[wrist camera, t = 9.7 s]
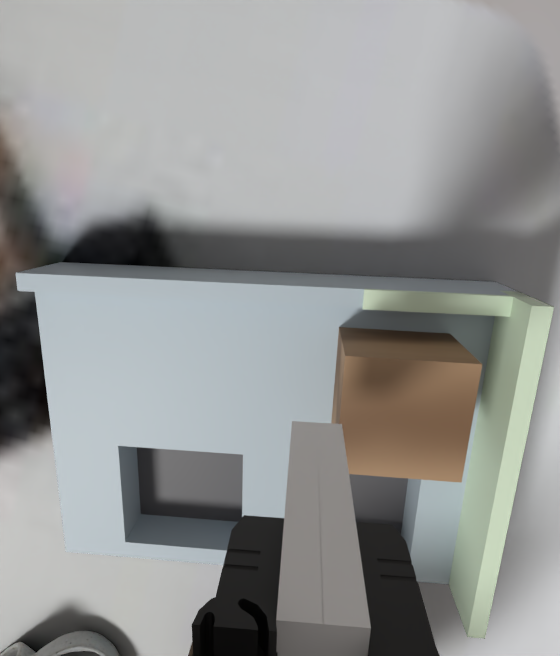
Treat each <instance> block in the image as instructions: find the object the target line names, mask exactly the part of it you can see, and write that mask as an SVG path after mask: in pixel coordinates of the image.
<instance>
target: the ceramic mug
mask: <svg viewBox="0 0 560 656" xmlns="http://www.w3.org/2000/svg"><path fill="white" fill-rule="evenodd" d="M74 651H79V652H80V651H92V652H96V653H97V654H100V656H119V654H118V651H117V650H116V648H115V646H114V645H113V644H112V643H111V642H110V641H109V640H108V639H106V638H105V637H104V636H103V635H101V634H99V633H96V632H92V631H74V632H71V633H67V634H64V635H62V636H60V637H58V638H57V639H55V640H53V641H52V642H50V643H49V644H47V645H46V646H44V647H43V648H41V649H40V650H39V651H38V652H37V653H36V652H35V651H34V650H32V649H31V648H30V647H28V646H27V645H25V644H24V643H22V642H18V643H15V644H13V645H12V646H10V647H8V648H7V649H6V650H5V651H3V652H2V653H1V654H0V656H60V655H62V654H65V653H69V652H74Z"/></svg>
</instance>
